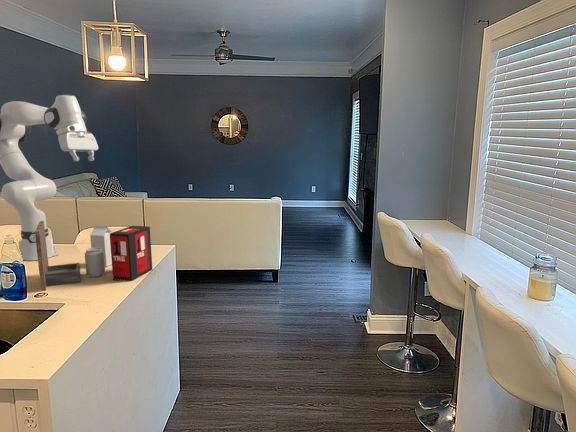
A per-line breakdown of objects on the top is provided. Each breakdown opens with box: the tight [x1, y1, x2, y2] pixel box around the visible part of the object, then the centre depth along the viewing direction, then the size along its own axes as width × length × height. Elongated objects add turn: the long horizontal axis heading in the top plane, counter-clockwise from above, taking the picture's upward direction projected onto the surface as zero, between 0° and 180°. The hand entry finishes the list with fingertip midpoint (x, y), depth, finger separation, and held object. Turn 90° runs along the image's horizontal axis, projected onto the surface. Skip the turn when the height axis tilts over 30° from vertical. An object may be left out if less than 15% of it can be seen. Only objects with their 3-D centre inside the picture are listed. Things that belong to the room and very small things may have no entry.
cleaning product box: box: [110, 225, 153, 282], centre depth 199 cm, size 16×9×20 cm, turn 166°
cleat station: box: [35, 221, 81, 292], centre depth 192 cm, size 24×14×24 cm, turn 24°
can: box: [84, 247, 106, 278], centre depth 199 cm, size 8×8×12 cm
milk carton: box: [89, 224, 114, 268], centre depth 215 cm, size 7×7×19 cm
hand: (84, 160), depth 203 cm, fingers open, 8 cm apart
